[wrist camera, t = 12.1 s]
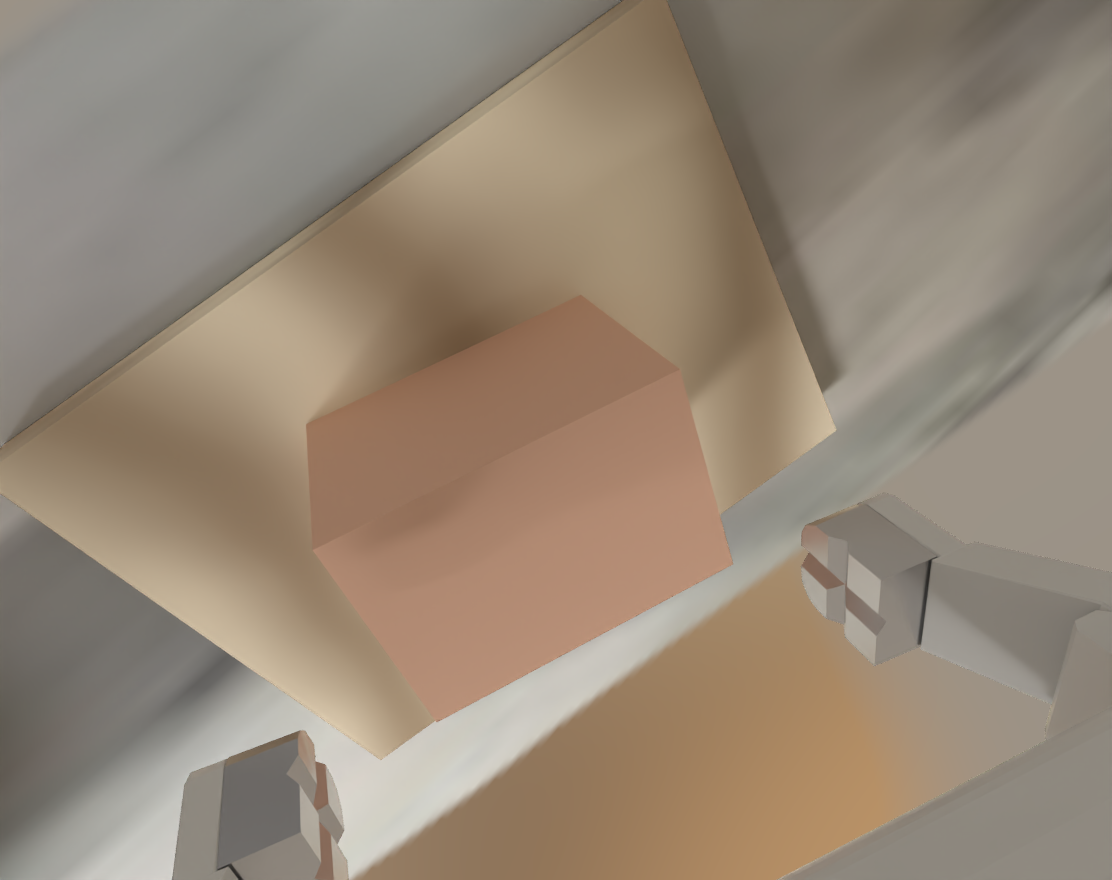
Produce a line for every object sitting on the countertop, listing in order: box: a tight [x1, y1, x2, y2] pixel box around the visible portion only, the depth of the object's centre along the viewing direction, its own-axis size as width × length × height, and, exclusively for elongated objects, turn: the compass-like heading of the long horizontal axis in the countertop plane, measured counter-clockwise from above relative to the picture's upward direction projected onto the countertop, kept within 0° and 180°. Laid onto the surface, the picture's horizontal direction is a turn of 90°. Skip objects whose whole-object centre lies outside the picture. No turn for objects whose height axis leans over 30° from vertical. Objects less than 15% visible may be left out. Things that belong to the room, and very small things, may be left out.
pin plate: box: [0, 0, 836, 760], centre depth 17 cm, size 17×13×5 cm
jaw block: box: [306, 295, 733, 722], centre depth 15 cm, size 7×5×5 cm
